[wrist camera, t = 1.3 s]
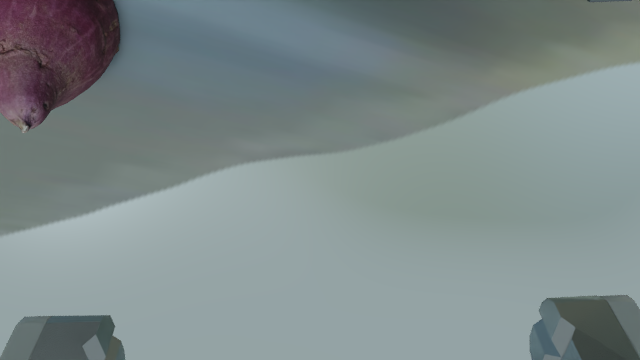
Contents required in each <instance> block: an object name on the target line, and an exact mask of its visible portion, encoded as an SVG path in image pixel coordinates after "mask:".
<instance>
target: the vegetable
mask: <svg viewBox="0 0 640 360" xmlns="http://www.w3.org/2000/svg"><path fill="white" fill-rule="evenodd" d="M119 43H120V29H119V22H118V13H117V10H116V8H115V5H114V2H113V0H0V112H1V113H2V114H3V115H4V117H5V118H6V119H8V120H9V121H10V122H11V123H12V124H13V125H16V126H17V127H19V128H20V129H21V131H22V133H25V132H27V131H29V129H33V128H35V127H36V126H38V125H39V124H41V123H42V122H43V121H44V120H45V118H46V117H47V115H48V114H49V113H50V111H51V110H53V109H54V108H56V107H59V106H62V105H64V104H66V103H68V102H69V101H71V100H72V99H74V98H76V97H77V96H78V95H80V94H81V93H83V92H84V91H85V90H87V89H88V88H89V87H91V86H92V85H93V84H94V83H95V82H96V81H97V80H98V79H99V78H100V77H101V76H102V74H103V73H104V72H105V70H106V69H107V67H108V66H109V64H110V62H111V61H112V59H113V57H114V55H115V54H116V53H117V52H118V51H119V47H118V44H119Z"/></svg>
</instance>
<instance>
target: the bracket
mask: <svg viewBox="0 0 640 360" xmlns="http://www.w3.org/2000/svg"><path fill="white" fill-rule="evenodd" d="M588 1H589V2H607V1H632V0H588Z"/></svg>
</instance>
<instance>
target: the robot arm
mask: <svg viewBox="0 0 640 360" xmlns="http://www.w3.org/2000/svg"><path fill="white" fill-rule="evenodd" d="M539 312H540V315H541V317H542V319H541V320H540V321H539V322H537V323H536V324H534V325H533V327H532V330H531V334H530V353H531V358H532V360H640V309H639V308H638V306H637V304H636V303H635V301H634V300H633V299H632V298H630V297H629V296H627V295H617V296H616V295H615V296H580V297H560V298H547V299H545V300H544V301H543V302H542V304H541V306H540V309H539ZM114 328H115V325H114V323H113V321H112V318H111V316H110V315H101V316H38V317H24V318H23V319H22V320H21V321H20V322H19V323H18V324H17V325H16V327H15V329H14V331H13V333H12V335H11V337H10V339H9V341H8V343H7V345H6V347H5V349H4V351H3V353H2V355H1V357H0V360H125V354H124V348H123V345H122V343H121V341H120V340H119V339H117V338H116V337H114V336H112V335H113V332H114Z"/></svg>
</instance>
